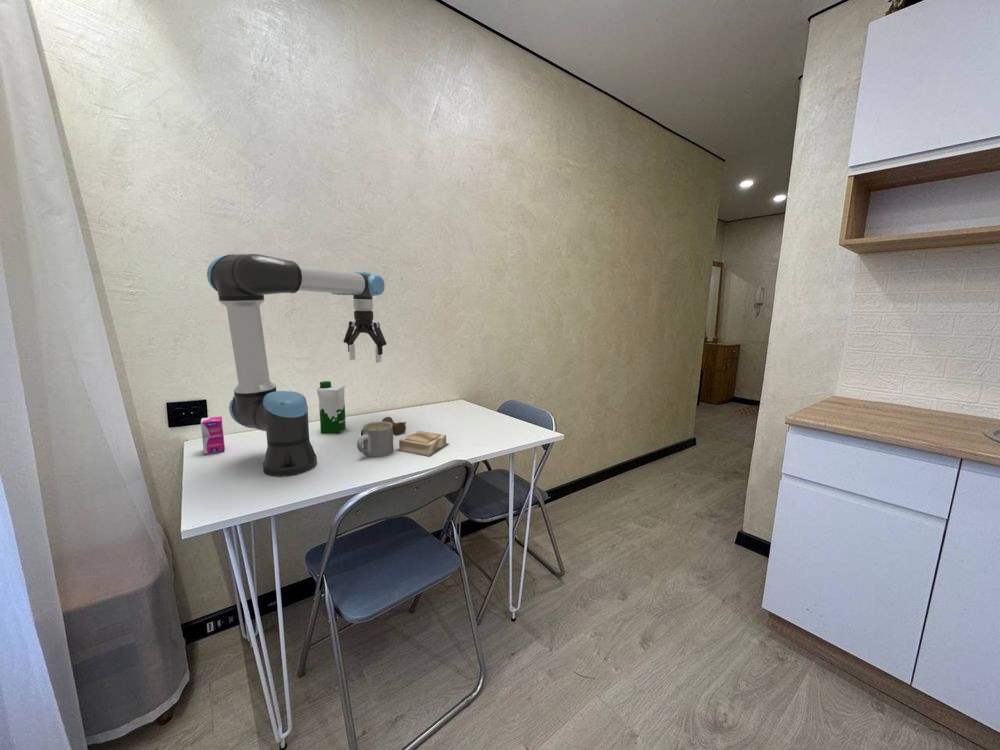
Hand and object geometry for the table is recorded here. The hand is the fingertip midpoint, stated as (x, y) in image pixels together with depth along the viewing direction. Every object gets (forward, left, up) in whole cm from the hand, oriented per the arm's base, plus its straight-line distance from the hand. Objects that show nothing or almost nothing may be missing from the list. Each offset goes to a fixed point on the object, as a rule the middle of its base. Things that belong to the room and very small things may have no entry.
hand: (365, 361), depth 168 cm
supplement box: (-49, +24, -27) cm, 61 cm away
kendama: (-11, -18, -27) cm, 34 cm away
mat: (-17, -39, -27) cm, 50 cm away
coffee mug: (-29, -27, -27) cm, 48 cm away
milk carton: (-16, +4, -27) cm, 31 cm away
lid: (-17, -39, -26) cm, 50 cm away
